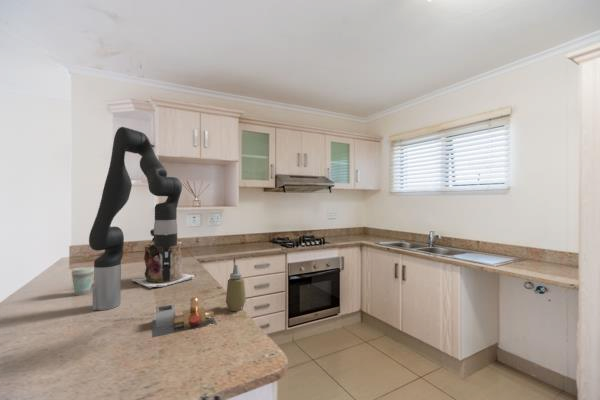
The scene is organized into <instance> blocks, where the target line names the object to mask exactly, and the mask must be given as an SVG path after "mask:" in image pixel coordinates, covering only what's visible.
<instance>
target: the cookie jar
mask: <svg viewBox="0 0 600 400" xmlns="http://www.w3.org/2000/svg"><path fill="white" fill-rule="evenodd" d="M150 236H152V240H151V241H150V242H148V243H147V244H145V246H144V254H143V255H144V257H143V261H144V264H145V271H144V277H142V278H132V279H131V281H132V282H133V283H137V284H138V285H140V286H144V287H146V288H148V289H152V288H155V287H157V288H158V287H159V288H161V287H166V286H170V285H174V284H177V283H180V282H185V281H189V280H190V281H191V280H194V277H195V275H196V274H195V275H193V274H187V273H182V270H183V257H182V251H181V246H182V243H183V242H182V241H178V240H177V245H175V246H171V247H170V250H172V263H171V269H170V280H169V281H163V275H162V265H161V261H160V251H162V249H161V247H155V246H154V228H152V229H150Z"/></svg>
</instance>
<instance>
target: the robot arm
mask: <svg viewBox="0 0 600 400" xmlns="http://www.w3.org/2000/svg"><path fill="white" fill-rule="evenodd" d="M111 149H112V150H111V157H110V162H109V167H108V170H107V171H108V172H107V175H106V178H105V182H104V187H103V190H102V194H101V199H100V203H99V207H98V209H97V214H96V215H95V219H94V221H93V225H92V227H91V229H90V232H89V236H88V243H89V247H90V248H91V249H92V250H93V251H95V252H96V251H97V252H99V251H104V252H103V253H102V254H101V255H100V256H98V257H97V258H95V259H94V262H93V269H94V272H93V286H92V311H105V310H109V309H110V310H111V309H114V308H117V307H118V306H120V305H121V303H122V302H121V300H122V298H121V297H122V295H121V294H122V293H121V292H122V286H121V285H122V280H121V279H122V278H121V277H122V259H123V258H124V257H123V255H124V245H125V244H124V240H125V239H124V238H125V237H124V233H123V230H122V228H120V227H118V226H111V224H112V222H113V220H114V219H115V217H116V216H117V214H119V212H120V211H121V210H122V209H123V208H124V206H125V205H127V203H128V201H129V198H130V194H131V191H132V186H133V183H132V179H131V178H130V174H129V172H128V170H127V167H126V165H125V158H126V157H125V156H126V152H127V153H131V154H138V155H139V156H141V158H140V160H139V167H140V170H141V171H142V173H143V174H144V176H145V177H146V179H147V184H148V190H149V193H150V194H152V195H153V196H155V197H167V198H166V200H165V201H164V202H159V203H156V204H155V206H154V222H153V223H154V224H153V229H154V236H153V238H154V246H155V247H161V249H162V251H160V261H161V265H162V275H163V281H169V280H170V269H171V263H172V250H170V247H171V246H175V245H177V241H178V222H177V219H178V218H177V214H178V213H177V212H178V211H177V208H178V204H179V200H180V197H181V193H182V191H183V186H182V182H181V181H180V178H178V177H175V176H174V177H172V176H168V171H167V169H166V168H165V166H164V165H163V164H162V163H161V161H160V160H159V158H158V157H157V155H156V153H155V151H154V148H153V147H152V143H151V142H150V139H149V137H148V136H147V134H145V133H143V132H142V131H139V130H135V129H133V128H129V127H124V126H120V127H118V128H117V130H116V132H115V134H114V138H113V144H112V148H111Z"/></svg>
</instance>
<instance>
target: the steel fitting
mask: <svg viewBox="0 0 600 400" xmlns="http://www.w3.org/2000/svg"><path fill="white" fill-rule="evenodd" d="M175 316H176V307H175V303H171V304H165V305H161V306H155V320H156V328H157V327H162V326H167V325H172V324H174V318H175Z"/></svg>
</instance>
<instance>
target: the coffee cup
mask: <svg viewBox="0 0 600 400" xmlns="http://www.w3.org/2000/svg"><path fill="white" fill-rule="evenodd" d="M71 276H72V283H73V290H74V292H73V293H74V295H75V296H85V295H88V294H90V293H91V291H92V284H93V279H94V266H81V267H76V268H73V269H72V271H71Z"/></svg>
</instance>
